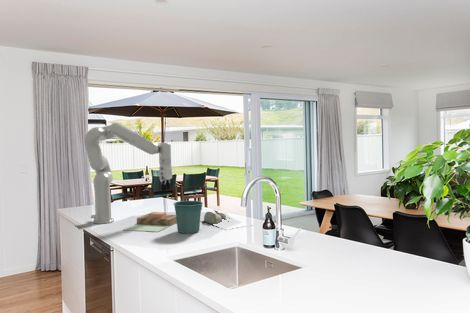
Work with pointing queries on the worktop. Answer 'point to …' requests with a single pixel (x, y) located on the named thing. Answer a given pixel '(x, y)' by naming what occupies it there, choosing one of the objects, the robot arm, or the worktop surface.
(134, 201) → the worktop surface
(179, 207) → the flower pot
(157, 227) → the sage mat
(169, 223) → the board
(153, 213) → the terracotta tile
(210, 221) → the grey lumpy piece
